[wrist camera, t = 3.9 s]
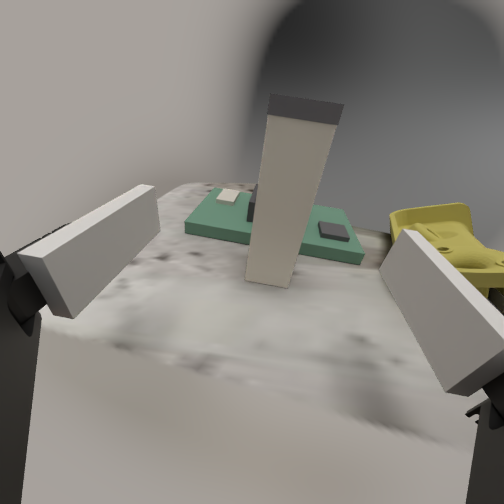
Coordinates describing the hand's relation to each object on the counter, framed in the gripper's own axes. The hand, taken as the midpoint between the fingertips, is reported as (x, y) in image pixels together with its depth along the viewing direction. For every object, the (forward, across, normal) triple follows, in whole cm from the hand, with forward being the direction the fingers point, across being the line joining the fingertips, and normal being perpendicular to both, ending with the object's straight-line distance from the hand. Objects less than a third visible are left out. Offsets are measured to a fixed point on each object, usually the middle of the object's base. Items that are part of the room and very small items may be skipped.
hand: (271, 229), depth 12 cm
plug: (+6, +1, -8) cm, 10 cm away
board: (+16, +1, -8) cm, 18 cm away
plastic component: (+12, +20, -8) cm, 25 cm away
